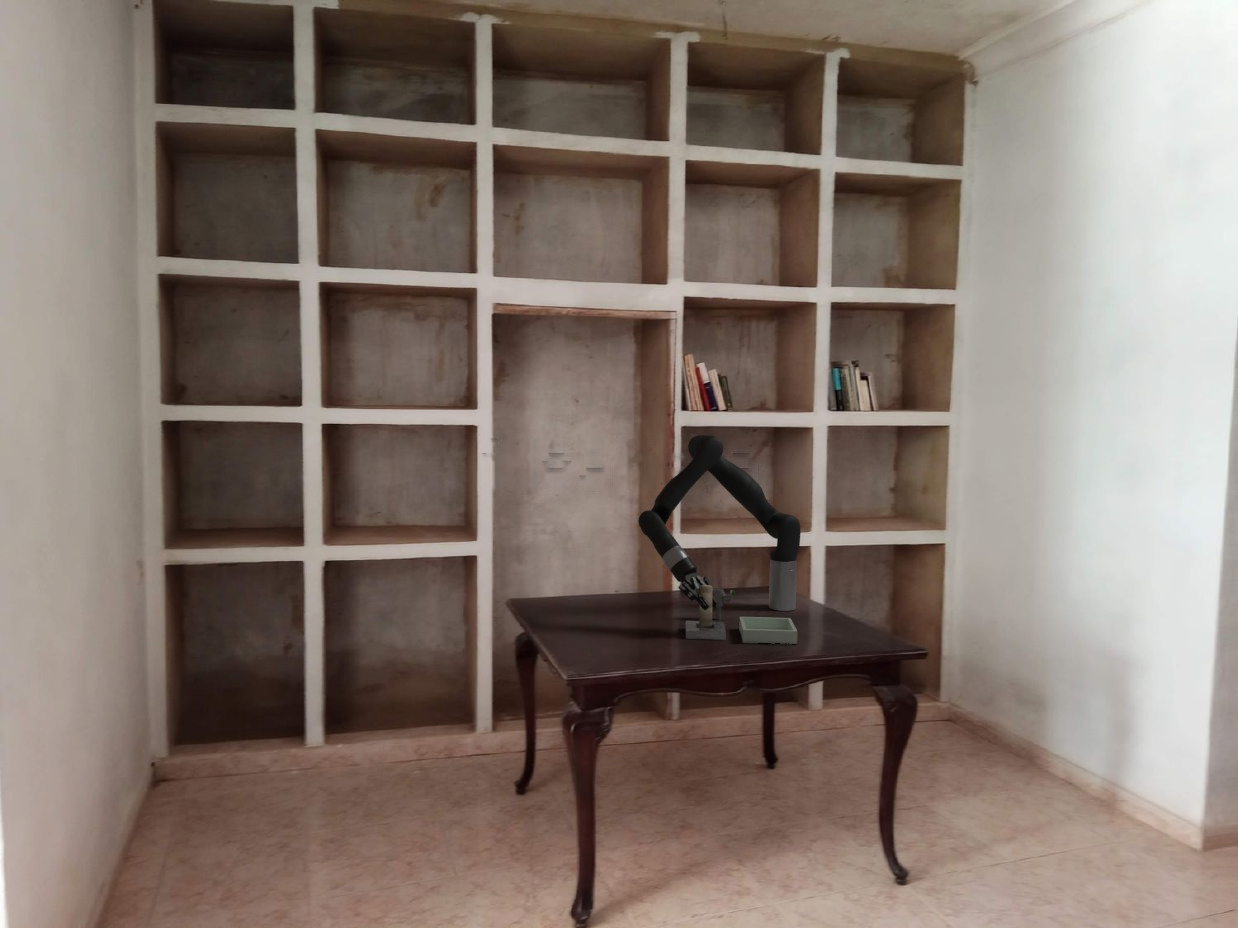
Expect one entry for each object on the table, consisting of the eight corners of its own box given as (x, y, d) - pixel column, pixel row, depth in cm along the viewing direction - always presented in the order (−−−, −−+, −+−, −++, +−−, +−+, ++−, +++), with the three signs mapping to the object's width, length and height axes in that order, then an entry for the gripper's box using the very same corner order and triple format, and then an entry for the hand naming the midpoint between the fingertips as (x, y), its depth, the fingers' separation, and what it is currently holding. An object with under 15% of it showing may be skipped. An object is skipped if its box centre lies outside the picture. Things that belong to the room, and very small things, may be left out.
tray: (739, 629, 270) (739, 616, 270) (790, 630, 269) (790, 617, 269) (742, 642, 254) (743, 629, 254) (797, 644, 253) (797, 631, 253)
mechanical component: (733, 621, 280) (734, 591, 279) (702, 619, 282) (703, 589, 281) (734, 618, 283) (734, 589, 282) (703, 617, 285) (704, 587, 284)
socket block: (685, 628, 270) (685, 620, 270) (723, 629, 269) (723, 621, 269) (685, 638, 258) (685, 630, 258) (725, 639, 257) (725, 631, 257)
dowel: (699, 622, 266) (699, 584, 265) (711, 623, 266) (712, 585, 265) (699, 626, 262) (699, 587, 261) (712, 626, 262) (712, 588, 261)
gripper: (673, 559, 262) (705, 604, 255) (699, 553, 273) (731, 595, 266) (659, 574, 265) (691, 618, 259) (685, 567, 276) (716, 609, 270)
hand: (711, 606), depth 262 cm, fingers closed on dowel, 4 cm apart
